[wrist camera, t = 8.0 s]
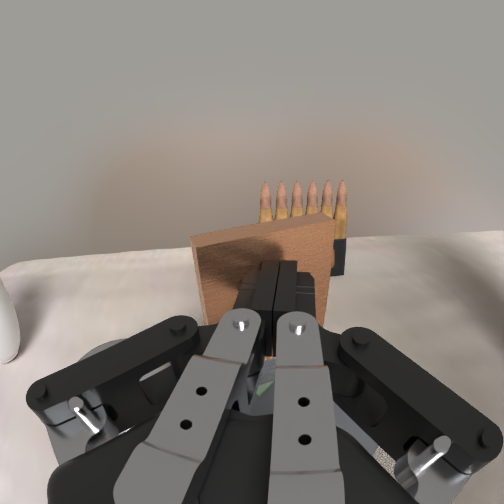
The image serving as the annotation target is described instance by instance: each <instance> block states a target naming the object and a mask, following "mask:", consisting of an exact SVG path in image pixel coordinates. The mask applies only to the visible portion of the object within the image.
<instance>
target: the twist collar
mask: <svg viewBox="0 0 504 504" xmlns="http://www.w3.org/2000/svg"><path fill="white" fill-rule="evenodd" d="M334 232H335V219H333V218H331V217H329V216H327V215H325V214H323V213H321V212H319V213H313V214H308V215H302V216H296V217H290V218H285V219H279V220H273V221H268V222H263V223H257V224H252V225H247V226H241V227H236V228H231V229H226V230H220V231H215V232H210V233H205V234H200V235H195V236H190V239H191V246H192V253H193V259H194V266H195V272H196V278H197V284H198V290H199V295H200V301H201V306H202V312H203V317H204V322H205V325H213V324H217V323H219V322H220V320H221V318H222V316H223V315H224V314H225V313H227V312H229V311H231V310H232V309H233V306H234V303H235V301H236V298H237V295H238V292H239V290H240V286H241V284H242V281H243V278H244V276H245V275H246V274H247V273H248V272H249V271H250V270H261V267H262V263H263V260H264V259H270V260H280V264H281V260H298V262H297V272H309V273H310V274H311V275H312V276H313V278H314V282H315V304H316V320H317V322H318V323H319V325H320V326H321V327H322V328H323V324H324V317H325V311H326V304H327V296H328V289H329V281H330V272H331V263H332V254H333V243H334ZM123 340H125V339H119V340H114V341H110V342H107V343H104V344H102V345H100V346H98V347H96V348H94V349H92V350H91V351H89V352H88V353H87V354H85V355H84V356H83V357H82V358H81V359H80V360H79V361H81V360H83V359H85V358H88V357H90V356H92V355H94V354H96V353H98V352H100V351H102V350H105V349H107V348H109V347H111V346H113V345H115V344H117V343H119V342H121V341H123ZM79 361H78V362H79ZM169 366H170V362H168V363H166V364H164V365H163V366H161V367H159V368H157V369H155V370H153V371H151V372H149V373H148V374H146V375H144V376H143V377H142V378H141V379H140V381H142V380H144V379H146V378H148V377H150V376H152V375H154V374H156V373H158V372H159V371H161V370H163V369H165V368H167V367H169ZM275 368H276V357H273V350H272V356H271V357H266V356H265V360H264V365H263V367H262V375H261V379H260V382H259V386H260V385H263V384H266V383H268V382H271V381H274V380H275ZM132 428H133V427H132ZM130 429H131V428H130ZM128 430H129V429H128ZM126 431H127V430H126ZM124 432H125V431H124ZM124 432H122V433H124ZM122 433H120V434H122ZM120 434H119V435H120Z"/></svg>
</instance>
